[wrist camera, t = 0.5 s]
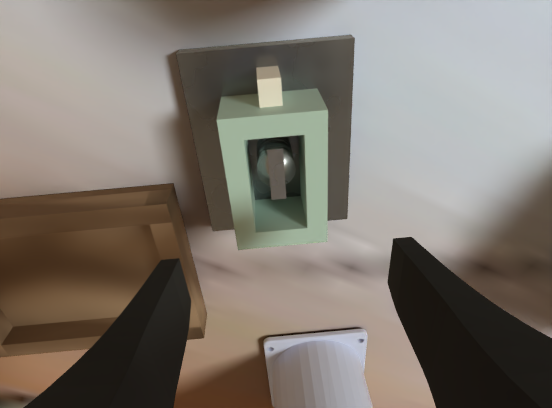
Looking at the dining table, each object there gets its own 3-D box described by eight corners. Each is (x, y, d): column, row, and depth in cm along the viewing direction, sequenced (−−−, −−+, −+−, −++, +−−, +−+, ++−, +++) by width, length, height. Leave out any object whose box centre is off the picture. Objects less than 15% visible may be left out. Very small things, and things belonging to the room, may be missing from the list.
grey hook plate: (344, 211, 23) (358, 250, 20) (213, 223, 23) (208, 264, 20) (350, 34, 18) (372, 52, 14) (179, 49, 18) (163, 70, 14)
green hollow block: (318, 209, 22) (327, 241, 19) (239, 216, 22) (238, 250, 19) (317, 62, 17) (328, 80, 15) (217, 71, 17) (211, 90, 15)
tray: (206, 313, 27) (203, 338, 26) (8, 332, 27) (-9, 357, 26) (173, 183, 21) (166, 203, 20) (-83, 206, 21) (-113, 229, 20)
